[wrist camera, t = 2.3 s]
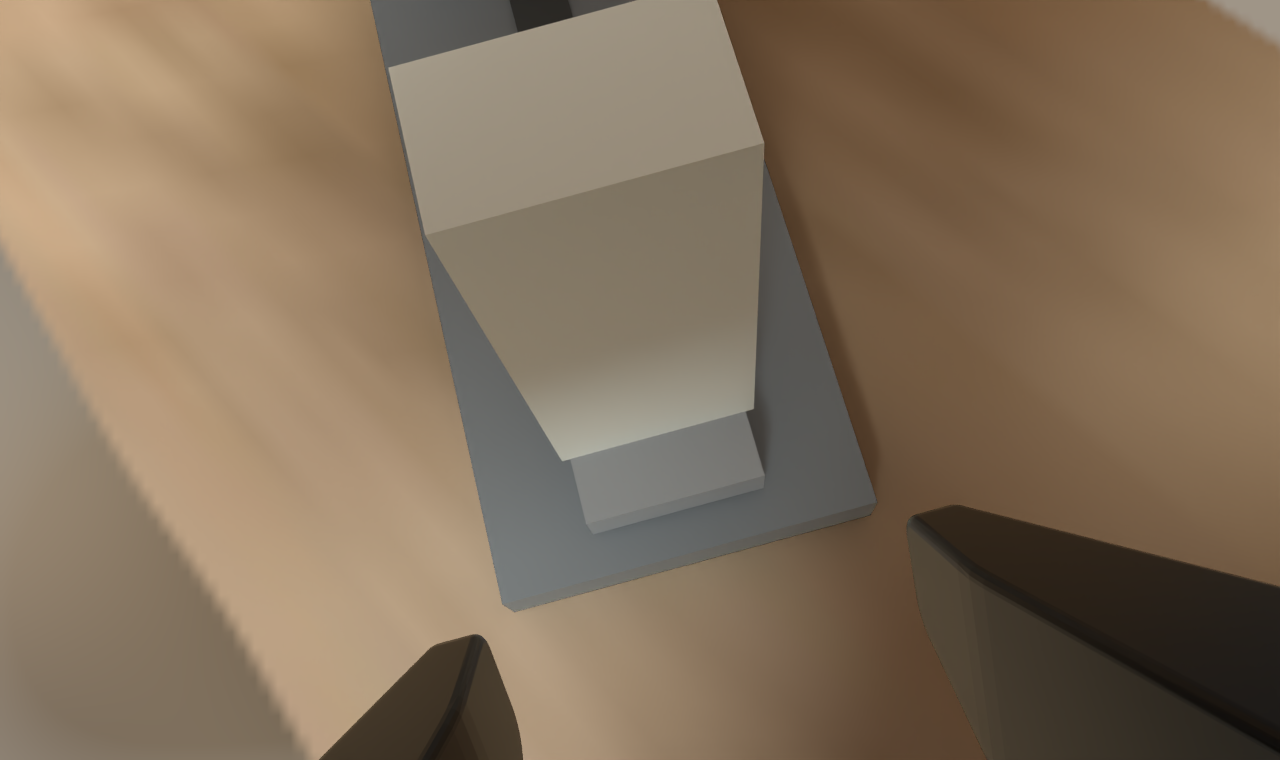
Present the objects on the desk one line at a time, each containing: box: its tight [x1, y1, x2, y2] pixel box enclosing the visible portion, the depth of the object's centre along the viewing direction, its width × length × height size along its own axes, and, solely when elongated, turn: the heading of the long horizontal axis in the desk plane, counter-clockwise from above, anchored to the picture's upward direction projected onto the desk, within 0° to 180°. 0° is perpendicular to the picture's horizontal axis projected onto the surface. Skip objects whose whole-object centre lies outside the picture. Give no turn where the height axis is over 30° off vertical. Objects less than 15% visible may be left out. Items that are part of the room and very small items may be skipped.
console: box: [370, 0, 877, 612], centre depth 23 cm, size 16×7×4 cm, turn 15°
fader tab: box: [388, 0, 765, 534], centre depth 17 cm, size 4×4×10 cm
